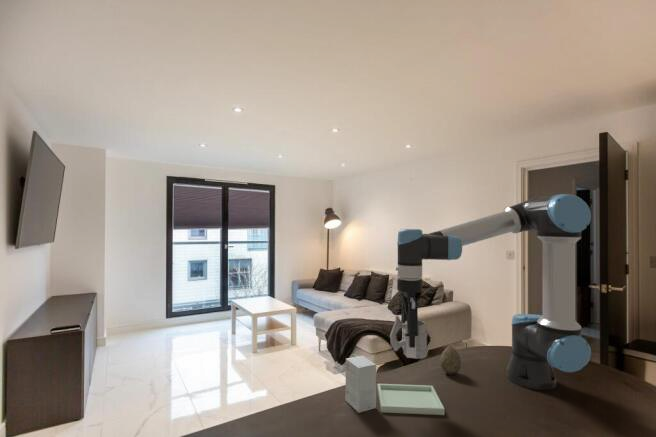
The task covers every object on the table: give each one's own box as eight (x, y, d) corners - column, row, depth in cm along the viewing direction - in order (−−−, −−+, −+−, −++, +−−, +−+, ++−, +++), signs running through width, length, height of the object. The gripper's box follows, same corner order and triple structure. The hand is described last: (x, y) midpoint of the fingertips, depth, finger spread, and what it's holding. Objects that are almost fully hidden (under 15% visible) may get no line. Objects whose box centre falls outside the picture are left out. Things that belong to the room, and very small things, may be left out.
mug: (432, 359, 102) (432, 318, 102) (393, 359, 101) (393, 319, 101) (423, 349, 110) (423, 312, 110) (387, 350, 109) (387, 312, 109)
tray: (432, 391, 112) (432, 385, 112) (444, 415, 98) (444, 408, 98) (377, 389, 113) (377, 383, 113) (381, 412, 99) (381, 406, 99)
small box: (376, 408, 101) (376, 364, 101) (358, 413, 98) (358, 368, 98) (362, 395, 108) (362, 354, 108) (344, 400, 106) (345, 358, 106)
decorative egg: (439, 375, 123) (439, 348, 123) (441, 368, 130) (441, 342, 130) (460, 379, 121) (460, 351, 121) (461, 371, 127) (461, 344, 127)
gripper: (393, 273, 116) (392, 340, 116) (402, 283, 96) (401, 365, 96) (415, 273, 116) (414, 341, 116) (429, 284, 96) (428, 366, 95)
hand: (408, 352), depth 106 cm, fingers closed on mug, 7 cm apart
